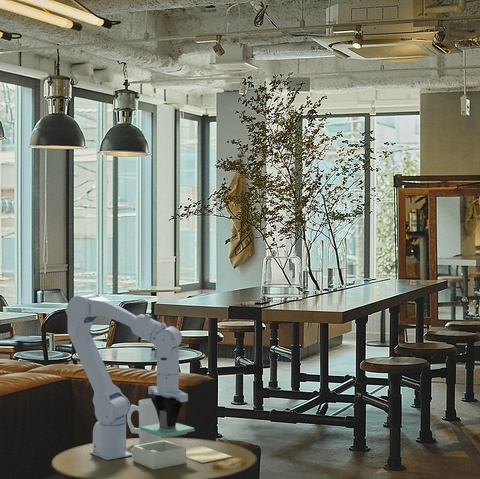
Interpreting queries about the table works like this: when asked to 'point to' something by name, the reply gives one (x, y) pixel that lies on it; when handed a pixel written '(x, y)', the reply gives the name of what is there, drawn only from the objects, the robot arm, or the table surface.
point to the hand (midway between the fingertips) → (167, 425)
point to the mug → (144, 420)
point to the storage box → (159, 454)
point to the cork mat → (205, 454)
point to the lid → (166, 427)
